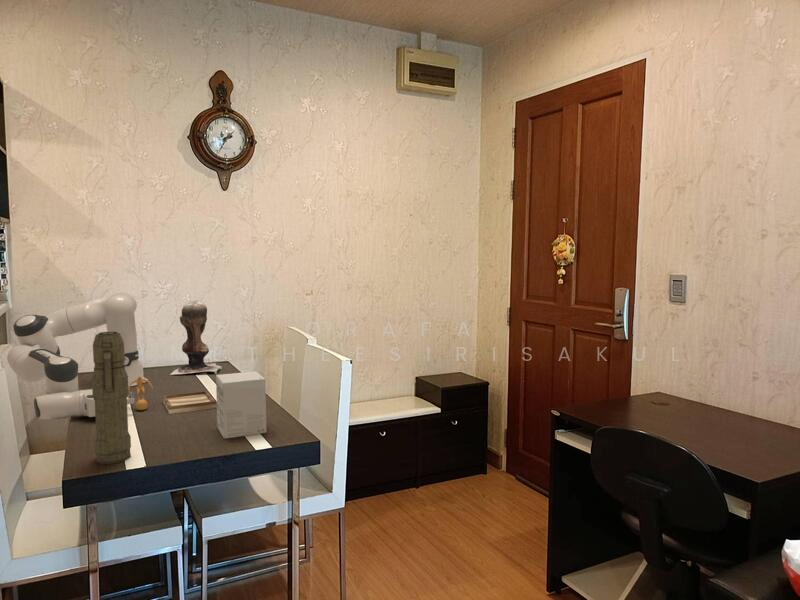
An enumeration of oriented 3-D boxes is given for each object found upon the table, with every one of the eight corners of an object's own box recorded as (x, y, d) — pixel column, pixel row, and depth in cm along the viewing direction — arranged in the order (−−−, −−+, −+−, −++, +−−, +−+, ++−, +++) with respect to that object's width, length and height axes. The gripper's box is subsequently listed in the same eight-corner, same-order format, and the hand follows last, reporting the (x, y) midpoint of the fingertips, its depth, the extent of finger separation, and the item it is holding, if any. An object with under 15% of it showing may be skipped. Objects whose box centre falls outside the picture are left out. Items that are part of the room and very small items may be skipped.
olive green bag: (96, 468, 150) (90, 336, 147) (94, 454, 160) (88, 331, 157) (133, 462, 154) (128, 334, 151) (129, 448, 164) (124, 329, 161)
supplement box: (257, 421, 191) (256, 370, 189) (267, 433, 179) (266, 378, 178) (216, 427, 185) (215, 374, 183) (223, 439, 173) (222, 382, 172)
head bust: (225, 362, 288) (220, 294, 281) (218, 378, 263) (213, 304, 257) (179, 365, 284) (174, 296, 278) (168, 381, 260) (162, 306, 253)
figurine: (129, 413, 200) (128, 379, 199) (127, 409, 205) (126, 376, 204) (155, 409, 205) (154, 377, 204) (152, 405, 210) (151, 373, 209)
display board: (162, 402, 215) (162, 395, 215) (206, 396, 223) (206, 390, 223) (169, 414, 199) (168, 407, 199) (216, 408, 207) (215, 401, 207)
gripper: (89, 404, 206) (131, 399, 212) (90, 418, 188) (136, 412, 195) (88, 386, 205) (131, 382, 212) (89, 399, 187) (135, 394, 194)
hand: (133, 397), depth 203 cm, fingers open, 8 cm apart
